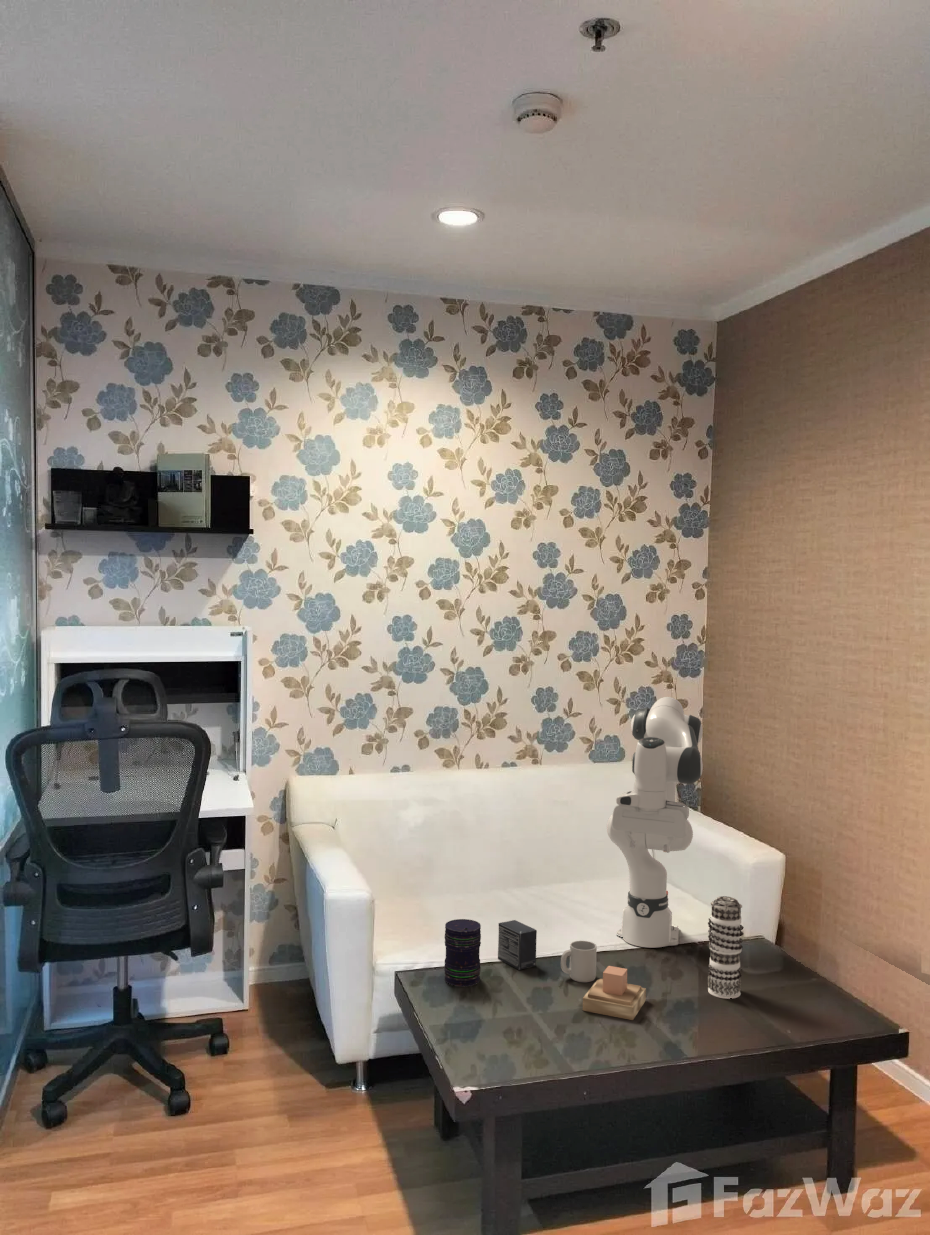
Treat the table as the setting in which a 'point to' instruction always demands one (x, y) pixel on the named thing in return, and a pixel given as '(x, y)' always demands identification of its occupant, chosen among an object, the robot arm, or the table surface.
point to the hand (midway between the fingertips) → (649, 849)
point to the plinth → (614, 1001)
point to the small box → (517, 944)
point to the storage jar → (462, 952)
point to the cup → (580, 961)
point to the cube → (615, 980)
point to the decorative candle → (725, 948)
